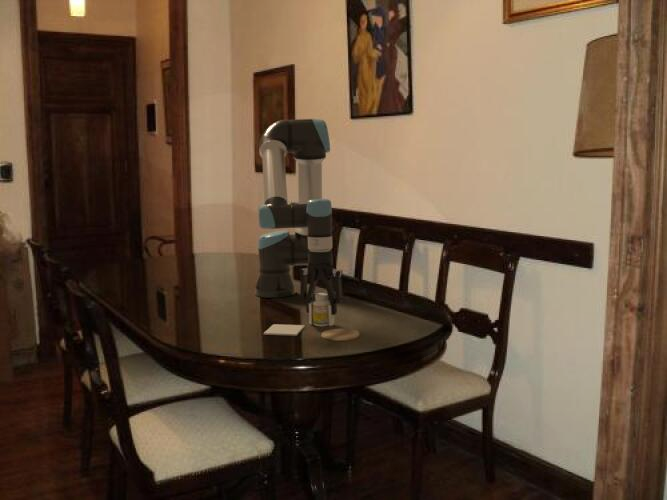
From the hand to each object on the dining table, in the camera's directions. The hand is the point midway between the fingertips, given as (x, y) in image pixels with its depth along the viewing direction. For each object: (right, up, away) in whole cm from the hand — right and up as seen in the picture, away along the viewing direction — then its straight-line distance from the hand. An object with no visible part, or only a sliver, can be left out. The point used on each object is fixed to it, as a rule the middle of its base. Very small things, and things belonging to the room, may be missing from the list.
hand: (321, 323), depth 214 cm
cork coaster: (+6, -2, -13) cm, 14 cm away
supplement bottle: (0, 0, 0) cm, 1 cm away
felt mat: (-11, -1, -6) cm, 13 cm away
